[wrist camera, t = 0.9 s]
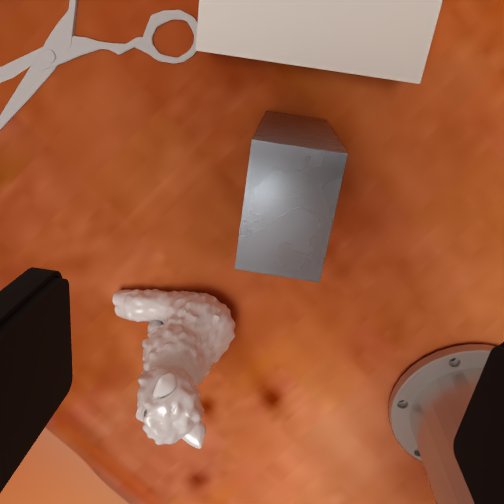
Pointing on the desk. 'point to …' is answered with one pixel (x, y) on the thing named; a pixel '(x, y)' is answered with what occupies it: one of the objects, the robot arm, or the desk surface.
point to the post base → (324, 34)
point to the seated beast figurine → (175, 357)
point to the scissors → (79, 54)
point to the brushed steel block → (290, 196)
